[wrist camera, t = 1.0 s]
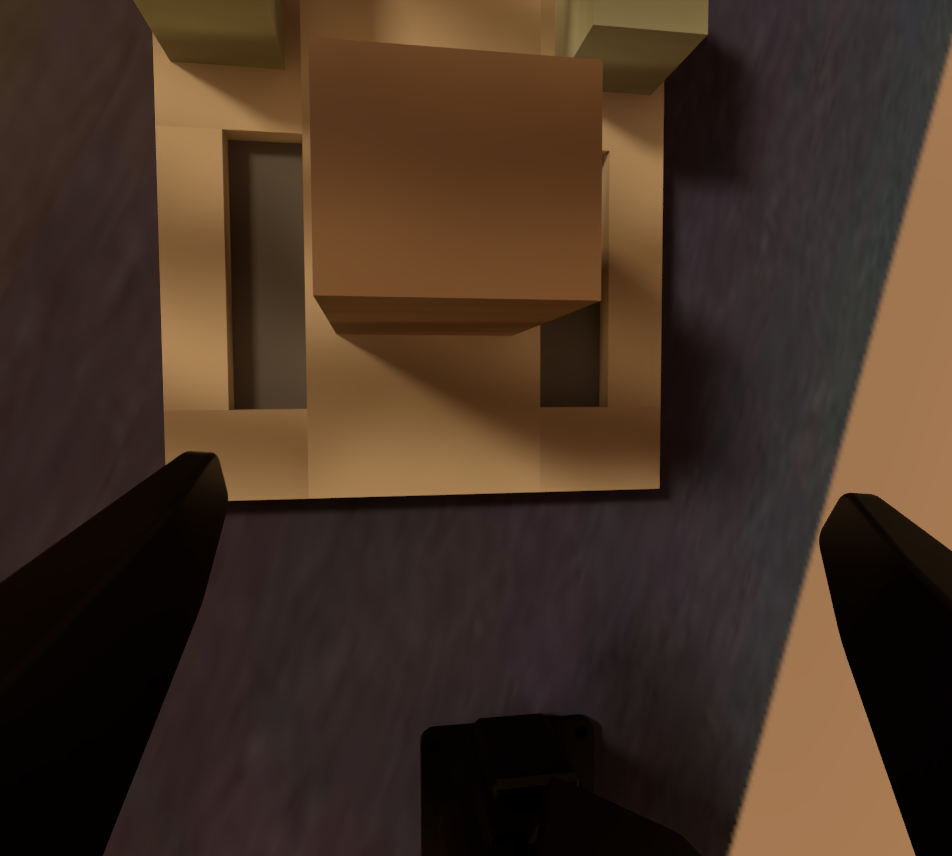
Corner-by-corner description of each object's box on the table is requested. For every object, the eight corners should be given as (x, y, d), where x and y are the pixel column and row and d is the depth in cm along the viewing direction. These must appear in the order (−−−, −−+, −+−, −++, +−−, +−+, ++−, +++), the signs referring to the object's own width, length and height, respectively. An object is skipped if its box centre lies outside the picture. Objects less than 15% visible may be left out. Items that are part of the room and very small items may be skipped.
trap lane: (646, 484, 25) (715, 507, 20) (177, 496, 23) (120, 527, 18) (651, -15, 24) (726, -124, 19) (161, -63, 22) (96, -205, 16)
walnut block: (512, 335, 23) (600, 300, 14) (336, 334, 22) (313, 295, 13) (512, 190, 23) (603, 59, 14) (334, 181, 22) (308, 36, 13)
